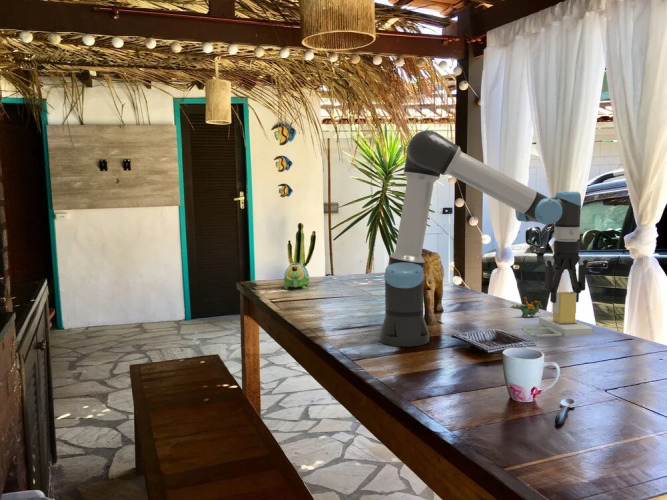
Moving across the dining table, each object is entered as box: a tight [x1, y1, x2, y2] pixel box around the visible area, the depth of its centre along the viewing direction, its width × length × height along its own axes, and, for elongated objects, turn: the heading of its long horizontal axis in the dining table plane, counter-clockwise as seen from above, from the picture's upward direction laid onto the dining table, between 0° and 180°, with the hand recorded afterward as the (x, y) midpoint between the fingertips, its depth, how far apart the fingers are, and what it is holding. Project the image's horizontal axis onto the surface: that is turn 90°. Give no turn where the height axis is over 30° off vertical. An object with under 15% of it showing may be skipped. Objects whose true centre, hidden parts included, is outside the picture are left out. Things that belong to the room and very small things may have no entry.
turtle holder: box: [283, 262, 310, 290], centre depth 278 cm, size 12×18×12 cm
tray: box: [521, 326, 564, 338], centre depth 182 cm, size 9×9×2 cm
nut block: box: [552, 291, 577, 323], centre depth 186 cm, size 5×5×9 cm
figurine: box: [509, 296, 543, 319], centre depth 203 cm, size 3×12×8 cm, turn 95°
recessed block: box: [538, 315, 594, 337], centre depth 186 cm, size 9×18×3 cm, turn 5°
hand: (564, 312), depth 186 cm, fingers closed on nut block, 5 cm apart
